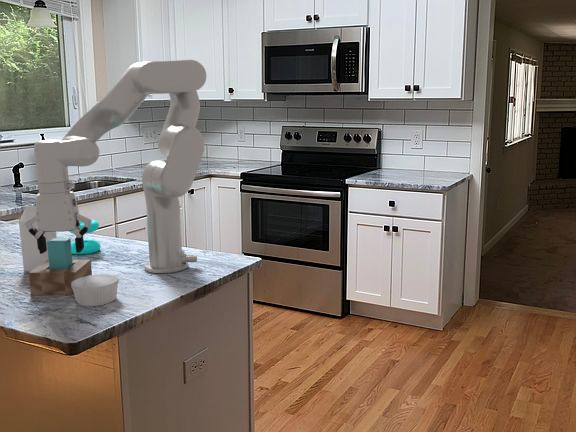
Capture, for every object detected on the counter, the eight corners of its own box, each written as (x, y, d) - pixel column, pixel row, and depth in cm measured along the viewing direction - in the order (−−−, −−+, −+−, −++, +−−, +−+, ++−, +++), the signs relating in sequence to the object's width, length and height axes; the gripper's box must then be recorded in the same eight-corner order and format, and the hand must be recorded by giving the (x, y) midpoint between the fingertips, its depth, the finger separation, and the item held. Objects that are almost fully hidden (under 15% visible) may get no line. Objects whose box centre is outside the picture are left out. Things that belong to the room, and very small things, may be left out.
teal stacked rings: (84, 217, 207) (105, 220, 201) (86, 246, 209) (107, 249, 203) (59, 223, 198) (80, 226, 193) (62, 253, 200) (83, 257, 195)
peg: (74, 281, 166) (70, 238, 164) (68, 286, 162) (64, 242, 160) (57, 281, 167) (53, 238, 164) (51, 286, 162) (46, 242, 160)
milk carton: (45, 272, 178) (39, 208, 174) (23, 271, 180) (17, 207, 176) (59, 266, 185) (53, 203, 181) (38, 265, 187) (32, 203, 183)
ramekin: (65, 301, 154) (63, 280, 153) (105, 290, 162) (104, 271, 161) (86, 311, 146) (84, 290, 145) (128, 300, 154) (126, 280, 153)
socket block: (92, 280, 170) (90, 259, 169) (77, 294, 159) (75, 272, 157) (49, 280, 171) (47, 260, 169) (30, 295, 159) (28, 272, 158)
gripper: (92, 184, 163) (98, 247, 166) (27, 186, 163) (35, 249, 167) (82, 189, 155) (89, 255, 159) (14, 191, 156) (23, 256, 159)
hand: (61, 251), depth 163 cm, fingers open, 9 cm apart
